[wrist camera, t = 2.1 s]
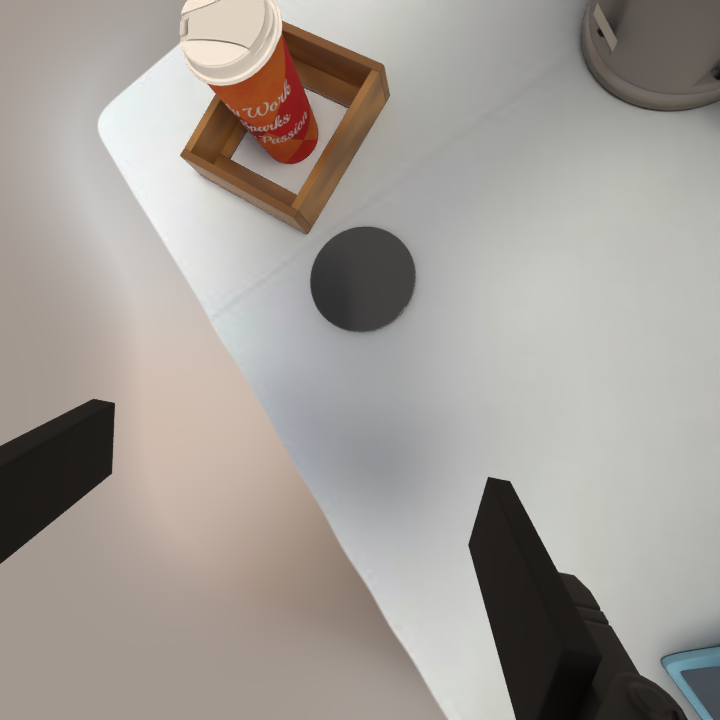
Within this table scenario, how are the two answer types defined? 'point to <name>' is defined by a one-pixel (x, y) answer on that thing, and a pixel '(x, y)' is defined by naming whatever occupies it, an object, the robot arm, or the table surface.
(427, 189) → the table surface
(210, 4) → the paper cup
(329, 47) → the wooden frame
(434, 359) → the table surface
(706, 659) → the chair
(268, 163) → the table surface
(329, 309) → the coaster
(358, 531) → the table surface
